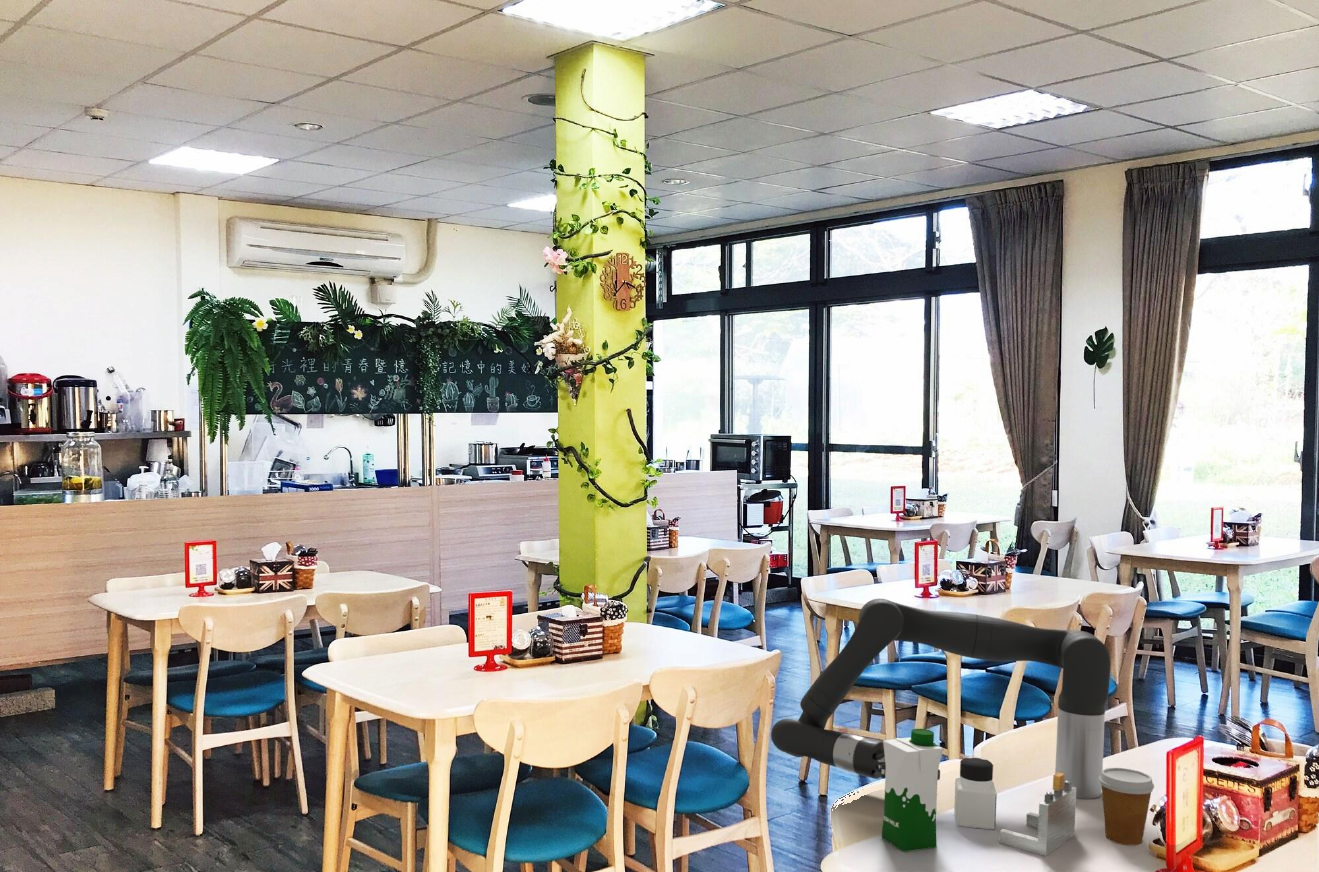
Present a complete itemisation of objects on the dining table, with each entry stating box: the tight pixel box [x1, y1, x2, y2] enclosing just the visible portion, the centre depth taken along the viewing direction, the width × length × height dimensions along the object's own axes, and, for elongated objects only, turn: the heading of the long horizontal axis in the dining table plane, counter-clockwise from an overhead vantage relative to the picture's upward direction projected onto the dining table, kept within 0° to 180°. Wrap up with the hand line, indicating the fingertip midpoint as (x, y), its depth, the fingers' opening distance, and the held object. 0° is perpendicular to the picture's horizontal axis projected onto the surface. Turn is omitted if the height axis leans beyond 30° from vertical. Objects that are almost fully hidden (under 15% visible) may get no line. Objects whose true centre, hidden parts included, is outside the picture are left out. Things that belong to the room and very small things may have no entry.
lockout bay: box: [999, 772, 1077, 857], centre depth 207 cm, size 14×9×13 cm, turn 140°
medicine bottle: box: [953, 756, 998, 831], centre depth 215 cm, size 7×7×12 cm
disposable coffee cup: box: [1099, 767, 1155, 846], centre depth 209 cm, size 10×10×12 cm
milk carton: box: [881, 728, 944, 853], centre depth 203 cm, size 9×9×20 cm
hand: (938, 775), depth 220 cm, fingers closed
